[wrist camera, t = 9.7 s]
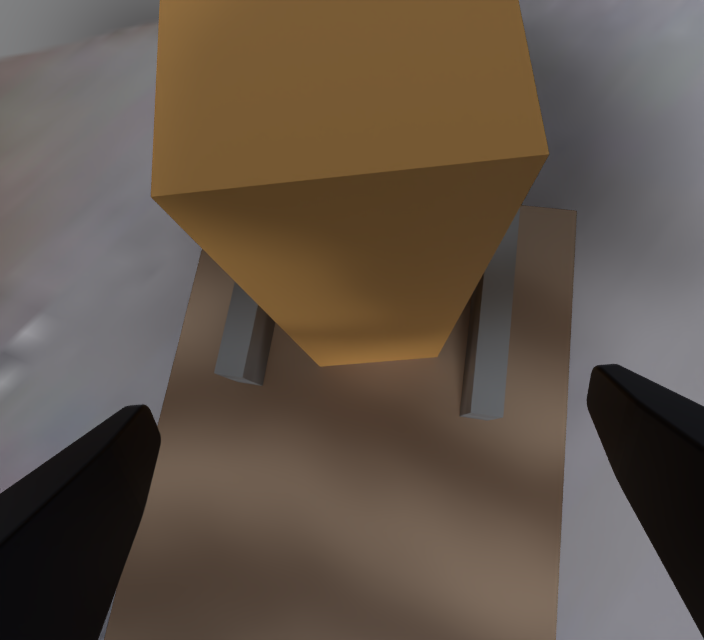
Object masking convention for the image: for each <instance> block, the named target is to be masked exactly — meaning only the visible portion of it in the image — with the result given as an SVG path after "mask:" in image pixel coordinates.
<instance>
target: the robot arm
mask: <svg viewBox="0 0 704 640" xmlns="http://www.w3.org/2000/svg"><path fill="white" fill-rule="evenodd" d="M587 407H588V410H589V413H590V416H591V418H592V420H593V423H594V425H595V428H596V430H597V433H598V435H599V438H600V440H601V443H602V445H603V447H604V450H605V452H606V455H607V457H608V460H609V462H610V465H611V467H612V469H613V472H614V474H615V476H616V478H617V480H618V482H619V484H620V486H621V488H622V490H623V492H624V494H625V496H626V497H627V499H628V501H629V503H630V505H631V506H632V508H633V510H634V512H635V514H636V516H637V517H638V519H639V521H640V523H641V525H642V527H643V528H644V530H645V532H646V534H647V536H648V538H649V539H650V541H651V543H652V545H653V547H654V549H655V550H656V552H657V554H658V556H659V558H660V559H661V561H662V563H663V565H664V567H665V569H666V570H667V572H668V574H669V576H670V578H671V580H672V581H673V583H674V585H675V587H676V589H677V591H678V592H679V594H680V596H681V598H682V600H683V601H684V603H685V605H686V607H687V609H688V611H689V612H690V614H691V616H692V618H693V620H694V622H695V623H696V625H697V627H698V629H699V631H700V633H701V634H702V636H703V638H704V406H702V405H700V404H698V403H696V402H694V401H692V400H690V399H688V398H686V397H683V396H681V395H679V394H677V393H675V392H673V391H671V390H669V389H667V388H665V387H663V386H661V385H659V384H657V383H655V382H653V381H651V380H649V379H647V378H645V377H643V376H641V375H639V374H637V373H634V372H632V371H630V370H628V369H626V368H624V367H622V366H620V365H618V364H607V365H597V366H595V367H594V368H593V370H592V373H591V378H590V383H589V389H588V394H587ZM160 446H161V435H160V432H159V429H158V427H157V425H156V422H155V420H154V417H153V415H152V413H151V410H150V409H149V407H148V406H146V405H143V404H142V405H131V406H126V407H124V408H122V409H121V410H119V411H118V412H117V413H115V414H114V415H112V416H111V417H109V418H108V419H106V420H105V421H104V422H102V423H101V424H99V425H98V426H96V427H95V428H94V429H92V430H91V431H89V432H88V433H86V434H85V435H84V436H82V437H81V438H79V439H78V440H76V441H75V442H74V443H72V444H71V445H69V446H68V447H66V448H65V449H64V450H62V451H61V452H59V453H58V454H56V455H55V456H54V457H52V458H51V459H49V460H48V461H46V462H45V463H44V464H42V465H41V466H39V467H38V468H36V469H35V470H34V471H32V472H31V473H29V474H28V475H26V476H25V477H24V478H22V479H21V480H19V481H18V482H16V483H15V484H14V485H12V486H11V487H9V488H8V489H6V490H5V491H4V492H2V493H1V494H0V640H98V638H99V635H100V633H101V630H102V627H103V624H104V622H105V619H106V616H107V613H108V611H109V608H110V605H111V602H112V600H113V597H114V594H115V591H116V589H117V586H118V583H119V580H120V578H121V575H122V572H123V569H124V566H125V564H126V561H127V558H128V555H129V553H130V550H131V547H132V544H133V542H134V539H135V536H136V533H137V531H138V528H139V525H140V522H141V519H142V516H143V513H144V510H145V506H146V503H147V499H148V495H149V491H150V487H151V483H152V479H153V475H154V470H155V466H156V462H157V458H158V454H159V450H160Z"/></svg>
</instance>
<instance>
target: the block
mask: <svg viewBox="0 0 704 640" xmlns="http://www.w3.org/2000/svg"><path fill="white" fill-rule="evenodd" d="M548 156H549V150H548V145H547V140H546V135H545V130H544V125H543V120H542V115H541V110H540V105H539V100H538V95H537V90H536V85H535V80H534V75H533V70H532V65H531V61H530V56H529V51H528V46H527V41H526V36H525V31H524V26H523V21H522V16H521V11H520V6H519V1H518V0H160V9H159V30H158V52H157V74H156V95H155V117H154V139H153V160H152V182H151V198H152V199H153V200H154V201H155V202H156V203H157V204H158V205H159V206H160V207H161V208H162V209H163V210H164V211H165V212H166V213H167V214H168V215H169V216H170V217H171V218H172V219H173V220H174V221H175V222H176V223H177V224H178V225H179V226H180V227H181V228H182V229H183V230H184V231H185V232H186V233H187V234H188V235H189V236H190V237H191V238H192V239H193V240H194V241H195V242H196V243H197V244H198V245H199V246H200V247H201V248H202V249H203V250H204V251H205V252H206V253H207V254H208V255H209V256H210V257H211V258H212V259H213V260H214V261H215V262H216V263H217V264H218V265H219V266H220V267H221V268H222V269H223V270H224V271H225V272H226V273H227V274H228V275H229V276H230V277H231V278H232V279H233V280H234V281H235V282H236V283H237V284H238V285H239V286H240V287H241V288H242V289H243V290H244V291H245V292H246V293H247V294H248V295H249V296H250V297H251V298H252V299H253V300H254V301H255V302H256V303H257V304H258V305H259V306H260V307H261V308H262V309H263V310H264V311H265V312H266V313H267V314H268V315H269V316H270V317H271V318H272V319H273V320H274V321H275V322H276V323H277V324H278V325H279V326H280V327H281V328H282V329H283V330H284V331H285V332H286V333H287V334H288V335H289V336H290V337H291V338H292V339H293V340H294V341H295V342H296V343H297V344H298V345H299V346H300V347H301V348H302V349H303V350H304V351H305V352H306V353H307V354H308V355H309V356H310V357H311V358H312V359H313V360H314V361H315V362H316V363H317V364H318V365H319V366H320V367H322V366H334V365H346V364H359V363H371V362H383V361H396V360H408V359H420V358H433V357H438V355H439V353H440V351H441V349H442V348H443V346H444V344H445V342H446V340H447V339H448V337H449V335H450V333H451V331H452V329H453V328H454V326H455V324H456V322H457V320H458V319H459V317H460V315H461V313H462V311H463V310H464V308H465V306H466V304H467V302H468V301H469V299H470V297H471V295H472V293H473V291H474V290H475V288H476V286H477V284H478V282H479V281H480V279H481V277H482V275H483V273H484V272H485V270H486V268H487V266H488V264H489V262H490V261H491V259H492V257H493V255H494V253H495V252H496V250H497V248H498V246H499V244H500V243H501V241H502V239H503V237H504V235H505V234H506V232H507V230H508V228H509V226H510V224H511V223H512V221H513V219H514V217H515V215H516V214H517V212H518V210H519V208H520V206H521V205H522V203H523V201H524V199H525V197H526V195H527V194H528V192H529V190H530V188H531V186H532V185H533V183H534V181H535V179H536V177H537V176H538V174H539V172H540V170H541V168H542V166H543V165H544V163H545V161H546V159H547V157H548Z"/></svg>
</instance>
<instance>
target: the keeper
mask: <svg viewBox="0 0 704 640" xmlns="http://www.w3.org/2000/svg"><path fill="white" fill-rule="evenodd" d="M576 216H577V211H574V210H564V209H554V208H544V207H534V206H524V205H521V206H520V208H519V210H518V212H517V214H516V215H515V217H514V219H513V221H512V223H511V224H510V226H509V228H508V230H507V232H506V234H505V235H504V237H503V239H502V241H501V243H500V244H499V246H498V248H497V250H496V252H495V253H494V255H493V257H492V259H491V261H490V262H489V264H488V266H487V268H486V270H485V272H484V273H483V275H482V277H481V279H480V281H479V282H478V284H477V286H476V288H475V290H474V291H473V293H472V295H471V297H470V299H469V301H468V302H467V304H466V306H465V308H464V310H463V311H462V313H461V315H460V317H459V319H458V320H457V322H456V324H455V326H454V328H453V329H452V331H451V333H450V335H449V337H448V339H447V340H446V342H445V344H444V346H443V348H442V349H441V351H440V353H439V355H438V357H433V358H420V359H408V360H396V361H383V362H371V363H359V364H346V365H334V366H322V367H320V366H319V365H318V364H317V363H316V362H315V361H314V360H313V359H312V358H311V357H310V356H309V355H308V354H307V353H306V352H305V351H304V350H303V349H302V348H301V347H300V346H299V345H298V344H297V343H296V342H295V341H294V340H293V339H292V338H291V337H290V336H289V335H288V334H287V333H286V332H285V331H284V330H283V329H282V328H281V327H280V326H279V325H278V324H277V323H276V322H275V321H274V320H273V319H272V318H271V317H270V316H269V315H268V314H267V313H266V312H265V311H264V310H263V309H262V308H261V307H260V306H259V305H258V304H257V303H256V302H255V301H254V300H253V299H252V298H251V297H250V296H249V295H248V294H247V293H246V292H245V291H244V290H243V289H242V288H241V287H240V286H239V285H238V284H237V283H236V282H235V281H234V280H233V279H232V278H231V277H230V276H229V275H228V274H227V273H226V272H225V271H224V270H223V269H222V268H221V267H220V266H219V265H218V264H217V263H216V262H215V261H214V260H213V259H212V258H211V257H210V256H209V255H208V254H207V253H206V252H205V251H204V250H203V249H202V251H201V255H200V259H199V263H198V267H197V271H196V275H195V279H194V283H193V287H192V291H191V295H190V299H189V303H188V307H187V311H186V315H185V319H184V323H183V327H182V331H181V335H180V339H179V343H178V347H177V351H176V355H175V359H174V363H173V367H172V371H171V375H170V379H169V383H168V387H167V391H166V394H165V398H164V402H163V406H162V410H161V414H160V418H159V422H158V426H157V427H158V429H159V432H160V435H161V446H160V450H159V454H158V458H157V462H156V466H155V470H154V475H153V479H152V483H151V487H150V491H149V495H148V499H147V503H146V506H145V510H144V513H143V516H142V519H141V522H140V525H139V528H138V531H137V533H136V536H135V539H134V542H133V544H132V547H131V550H130V553H129V555H128V558H127V561H126V564H125V566H124V569H123V572H122V575H121V578H120V580H119V583H118V586H117V590H116V594H115V598H114V602H113V606H112V610H111V614H110V618H109V622H108V626H107V630H106V634H105V637H104V640H556V623H557V603H558V583H559V562H560V542H561V522H562V501H563V481H564V461H565V440H566V420H567V400H568V379H569V359H570V339H571V318H572V298H573V277H574V257H575V237H576Z"/></svg>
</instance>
